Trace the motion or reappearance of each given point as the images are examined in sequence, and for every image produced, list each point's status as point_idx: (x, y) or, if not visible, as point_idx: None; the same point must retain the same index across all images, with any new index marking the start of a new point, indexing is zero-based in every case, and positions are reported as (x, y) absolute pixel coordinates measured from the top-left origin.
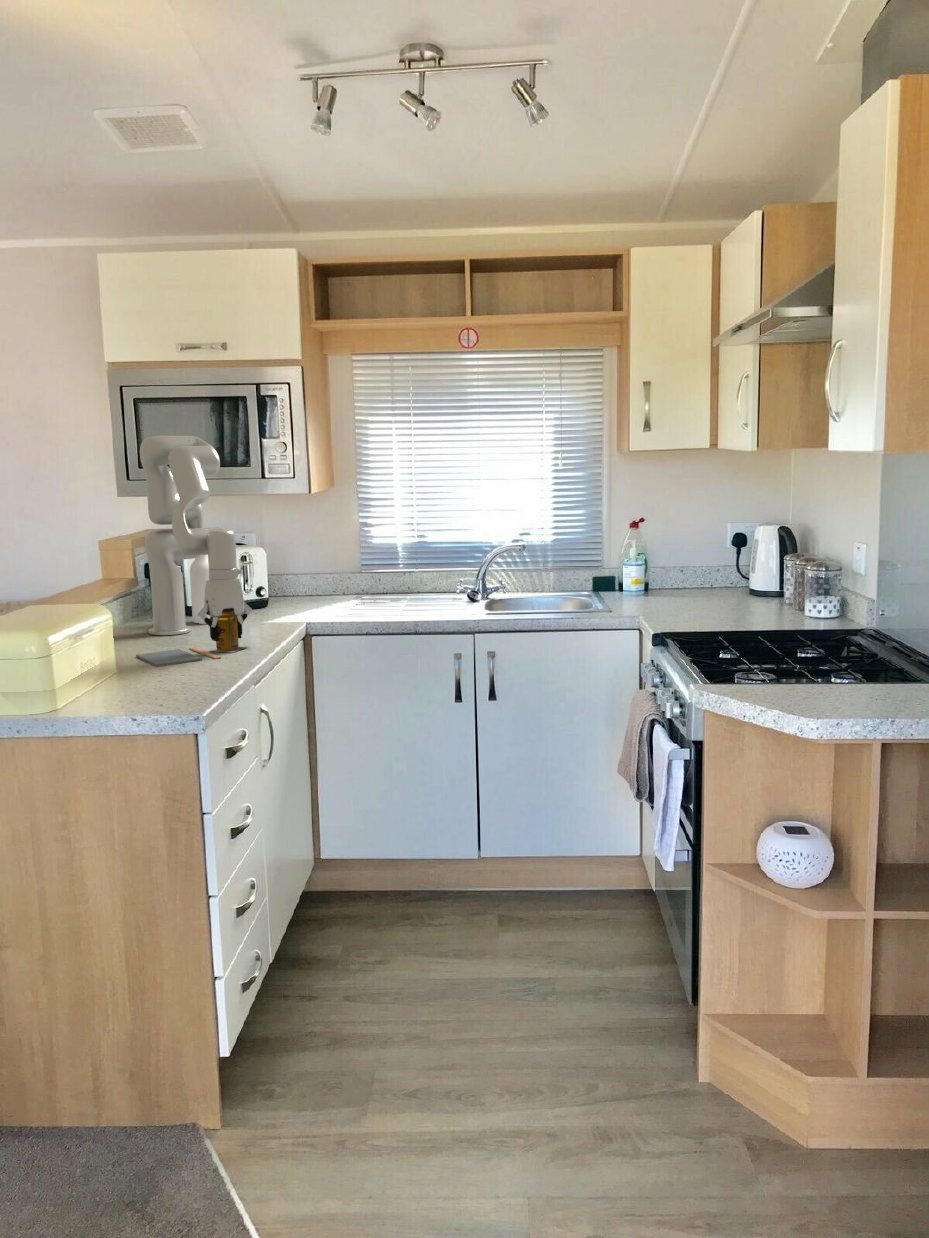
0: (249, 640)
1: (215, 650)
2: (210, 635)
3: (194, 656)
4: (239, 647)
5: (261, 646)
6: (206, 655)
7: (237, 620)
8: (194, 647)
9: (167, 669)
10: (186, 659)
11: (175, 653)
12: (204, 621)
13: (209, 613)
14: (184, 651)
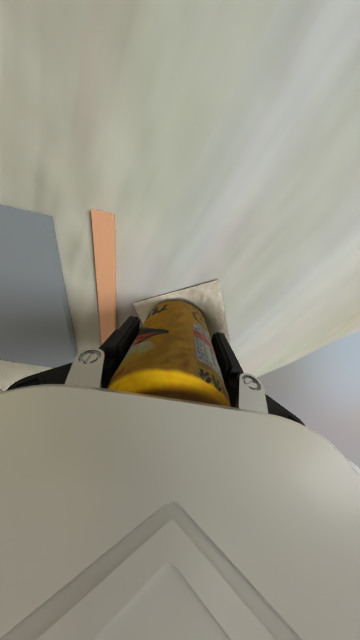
0: (331, 247)
1: (148, 308)
2: (113, 333)
3: (65, 349)
4: (213, 325)
5: (256, 349)
6: (103, 341)
7: (234, 400)
8: (109, 223)
9: (2, 380)
10: (42, 361)
11: (22, 280)
12: (34, 380)
13: (44, 395)
14: (54, 275)
